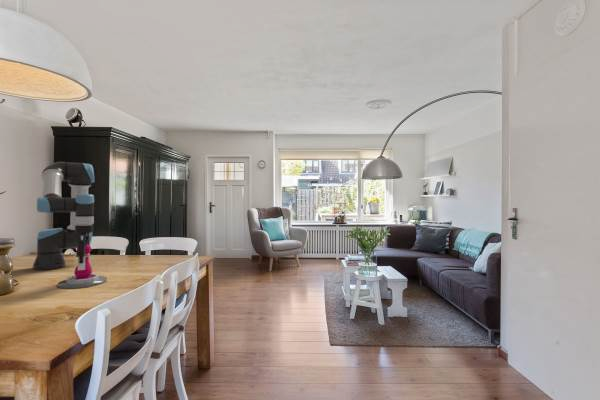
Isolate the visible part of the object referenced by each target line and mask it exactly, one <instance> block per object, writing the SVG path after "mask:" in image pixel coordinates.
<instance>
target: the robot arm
mask: <svg viewBox="0 0 600 400" xmlns="http://www.w3.org/2000/svg"><path fill="white" fill-rule="evenodd" d="M41 180H42V181H43V188H42V190H43V191H42V196H41V197H40V196H39V197H38V198H37V199H36V211H37V212H38V213H46V214H47V213H70V224H69V225H68V226H67V227H66V229H64V228H63V227H57V228H49V229H43V230H40V231H38V233H37V237H36V240H37V244H36V249H37V250H36V257H35V259H34V261H33V263H32V270H35V271H44V270H46V271H47V270H54V269H55V270H56V269H60V268H64V267H66V260H65V258H64V255H63V250H65V249H66V250H67V249H69V250H70V249H77V247H78V252H77V254H76V255H75V257H77V265H78V270H85V248H86V245H87V244H88V245H90V246H91V243H92V239H93V232H94V225H93V224H95V217H94V211H95V195H94V194H91V193H89V188H90V187H91V186H92V183H95V171H94V167H93V165H92V164H90V163H84V162H70V161H57V162H54V163H51V164H49V165H47V166H46V167H44V169H43V170H42V172H41ZM62 182H68V184H67V185H68V186H69V187H70V188H71V189H70V190H71V192H70V195H71V196H70V197H62Z"/></svg>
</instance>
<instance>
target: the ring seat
mask: <svg viewBox="0 0 600 400" xmlns="http://www.w3.org/2000/svg"><path fill="white" fill-rule="evenodd" d="M90 276H91V278H88V279H80V280H75V279H76V277H77V276H75V274H74V275H71V276H69V277H67V278H66V279H63V280H61V281H59V282H58V283H57V287H58V288H60V289H64V288H65V289H66V290H69V289H70V290H71V289H72V290H73V289H74V290H75V289H84V288H90V287H96V286H99V285H102V284H105V283H106V282H107V281H108V278H107V276H104V275H100V274H99V273H91V274H90Z"/></svg>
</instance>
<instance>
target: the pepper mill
mask: <svg viewBox="0 0 600 400" xmlns="http://www.w3.org/2000/svg"><path fill="white" fill-rule="evenodd" d="M90 252H92V247H91V244H90V245H88V244H87V245H86V248H85V270H78V264H77V265H76V267H75V269H74V275H75V276H77V277H76V279H75V280H80V279H88V278H91V276H90V274H93V268H92V266H91V264H90V255H91V254H90ZM76 253H78V247H77V248H76Z"/></svg>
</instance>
